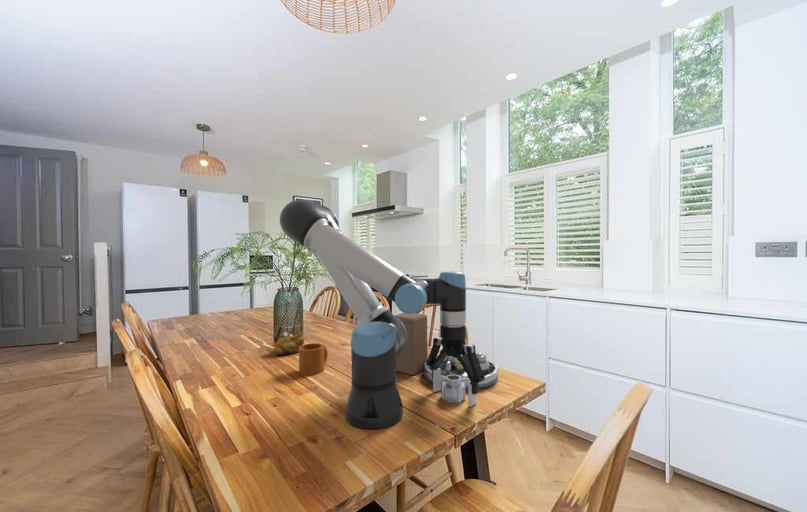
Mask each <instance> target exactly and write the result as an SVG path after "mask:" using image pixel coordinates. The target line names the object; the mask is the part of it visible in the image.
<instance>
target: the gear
mask: <svg viewBox="0 0 807 512" xmlns="http://www.w3.org/2000/svg"><path fill="white" fill-rule="evenodd" d="M466 396H467V395H466V386H465V383H464V382H461V376H458V375H448V376H446V381H445V382H442V387H441V400H443V401H446V402H448V403H450V404H452V403H457V404H460V403H461V402H463V401H466Z"/></svg>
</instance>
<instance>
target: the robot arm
mask: <svg viewBox="0 0 807 512" xmlns="http://www.w3.org/2000/svg"><path fill="white" fill-rule="evenodd" d="M279 225H280V228H281V230H282V232H283V233H284V234H285V235H286V236H287V237H288V238H289V239H291V240H293V241H294V242H296V243H297V244H299V245H300V246H302V247H303V248H305V249H307V250H308V251H309V253H311V254H314V255H316V256H318V258H319V260H320V261H321V263H322V265H323V266H324V268H325V269H326V271H327V273H328V274H329V277H330V278H331V279H332V282H333V283H334V285H335V286H336V288H337V289H338V291H339V293H340V294H341V297H343V299H344V301H345V302H346V305H347V306H348V307H349V309H350V311H351V312H352V314H353V316H354V317H355V319H356V320H357V321H356V322H357V323H356V327H354V329H353V330H352V332H351V340H350V348H351V349H350V351H351V390H350V393H349V396H348V399H347V403H346V405H345V420H346V421H347V423H349V424H350V425H351V426H353V427H356V428H359V429H366V430H377V429H384V428H388V427H390V426H391V427H392V426H393V425H395V424H397V423H398V422H400V420H401V419H402V418H403V416H404V405H403V402H402V398H401V395H400V393H399V389H398V386H397V371H396V358H397V357H398V355H399V354H400V352H401V351H402V350H403V348H404V346H405V343H406V337H407V334H406V329H405V326H404V325H403V323H402V322H401V321H400V320H399V319H397V318H395V317H394V315H393V313H392V311H391V309H390V308H389V307H387V306H384V305H382V304H381V303H380V302H381V301H379V299H378V298H377V296H376V294H375V292H374V291H373V290H372V288H373V289H374V290H375V291H377V292H379V293H380V294H382V295H383V296H385V297H386V298H387V299H388V300H390V301H392V302H394V303H395V306H396V307H397V309H399V311H400V312H402V313H406V314H414V313H418V312H420V311H421V310H422V309H424V308H425V306H426V305H430V304H431V305H439V323H440V327H439V329H440V331H439V332H440V333H439V335H440V336H437V337H434V338H432V346H431V350H430V352H429V353H428V360H427V363H426V365H427V366H430V367H431V369H432V379H433V384H432V385H433V387H432V391H433V392H434V393H436V392H438V391H442V387H441V369H440V368H438V367H440V364H441V363H442V362H443V360H444V359H445V357H446V356H452V357H454V358H457V360H458V361H460V363H461V365H462V367H463V368H464V370H465V372H466V374H467V376H468V378H469V379H470V382H468V391H467V394H468V395H467V398H468V399H467V401H468V402H467V403H468V405H467V406H468V407H472V406H474V405H476V404H477V394H479V390H478V383H479V382H481V381H483V380H485V378H484V375H483V372H482V369H481V366H480V364H479V361H478V358H477V355H476V354H477V353H476V346H475V344H466V339H467V326H466V323H467V313H466V312H467V285H466V284H467V283H466V275H465V273H464V272H462V271H457V270H456V271H441V272H440V273H439V277H437V278H416V277H415V278H414V277H409V276H407V275H406V274H404V273H403V272H402V271H400V270H398V269H397V268H395V267H393V266H392V264H391V265H390V264H389V263H388V262H386V261H384V260H383V259H381V258H380V257H378V256H377V255H375V254H374V253H372V252H370V251H369V250H368V249H366V248H364V247H363V246H361V245H360V244H358V243H357V242H356V241H354V240H352V239H350V238H349V237H348V236H346V235H344V234H343V232H342V230H341V229H340V227H339V226H340V224H339V218H338V216H337V215H336V213H335V212H334V211H333V210H331V209H330V208H328V207H327V206H326V205H323V204H317V203H315V202H314V203H313V202H312V201H308V200H304V199H297V200H292V201H290V202H288V203H287V204H286V205H285V206H283V208H282V210H281V212H280V215H279ZM441 347H442V349H440V348H441ZM461 355H463V356H461ZM437 356H438V357H437ZM436 357H437V358H436ZM473 377H474V378H473Z"/></svg>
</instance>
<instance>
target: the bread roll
mask: <svg viewBox="0 0 807 512" xmlns="http://www.w3.org/2000/svg"><path fill="white" fill-rule="evenodd" d="M302 345H305V337H304V335H303V333H299V334H296V335H290V336H287V337H280V338H278V339H277V340H276V343H275V346H274V347H273V349H272V352H273V354H274V355H275V356H284V355H287V354H288V355H290V354H291V355H292V354H297V353H299V347H300V346H302Z"/></svg>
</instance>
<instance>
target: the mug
mask: <svg viewBox="0 0 807 512" xmlns="http://www.w3.org/2000/svg"><path fill="white" fill-rule="evenodd" d="M327 348H328V347H327V346H326V345H324V344H322V343H318V342H317V343H316V342H315V343H314V342H312V343H306V344H305V343H304V344H303V345H302V346H300V347H299V352H298V369H299V374H301V375H302V376H315V375H319V374H322V373H323V372H324V371H325V365H326V363H327V361H328V357H329V355H328V352H329V351H328V349H327Z"/></svg>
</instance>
